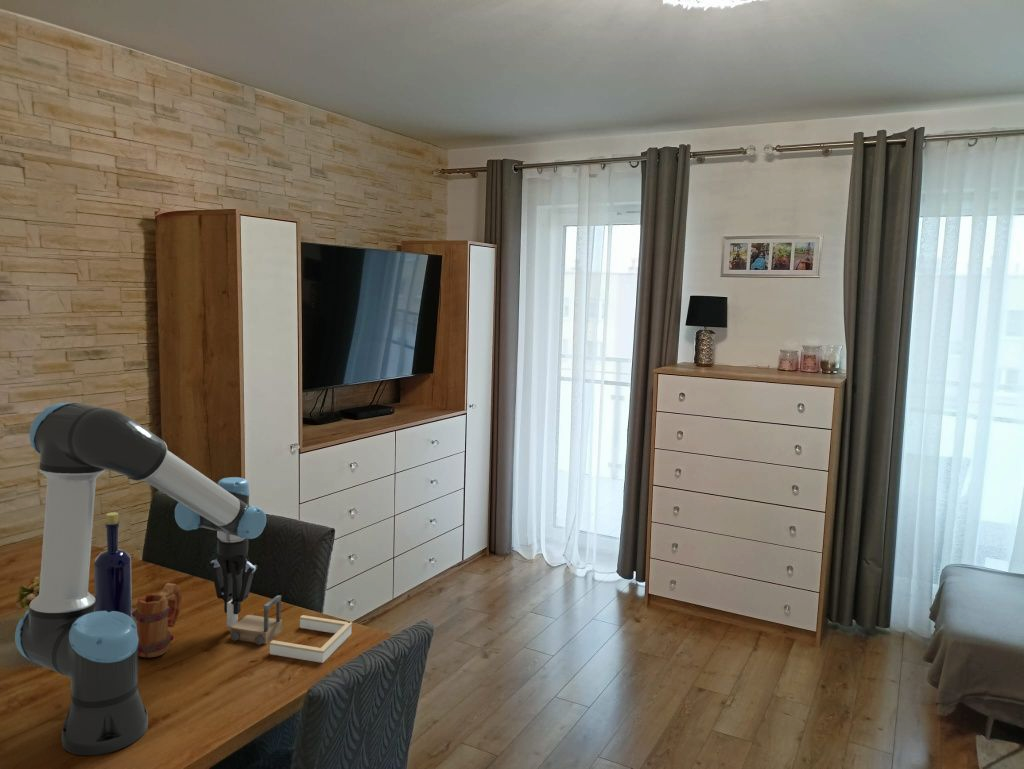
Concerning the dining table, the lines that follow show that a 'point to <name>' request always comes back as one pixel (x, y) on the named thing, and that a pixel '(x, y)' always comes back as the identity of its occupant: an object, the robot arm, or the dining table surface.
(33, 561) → the dining table surface
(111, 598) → the bottle
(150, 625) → the mug
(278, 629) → the trolley
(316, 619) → the bay
